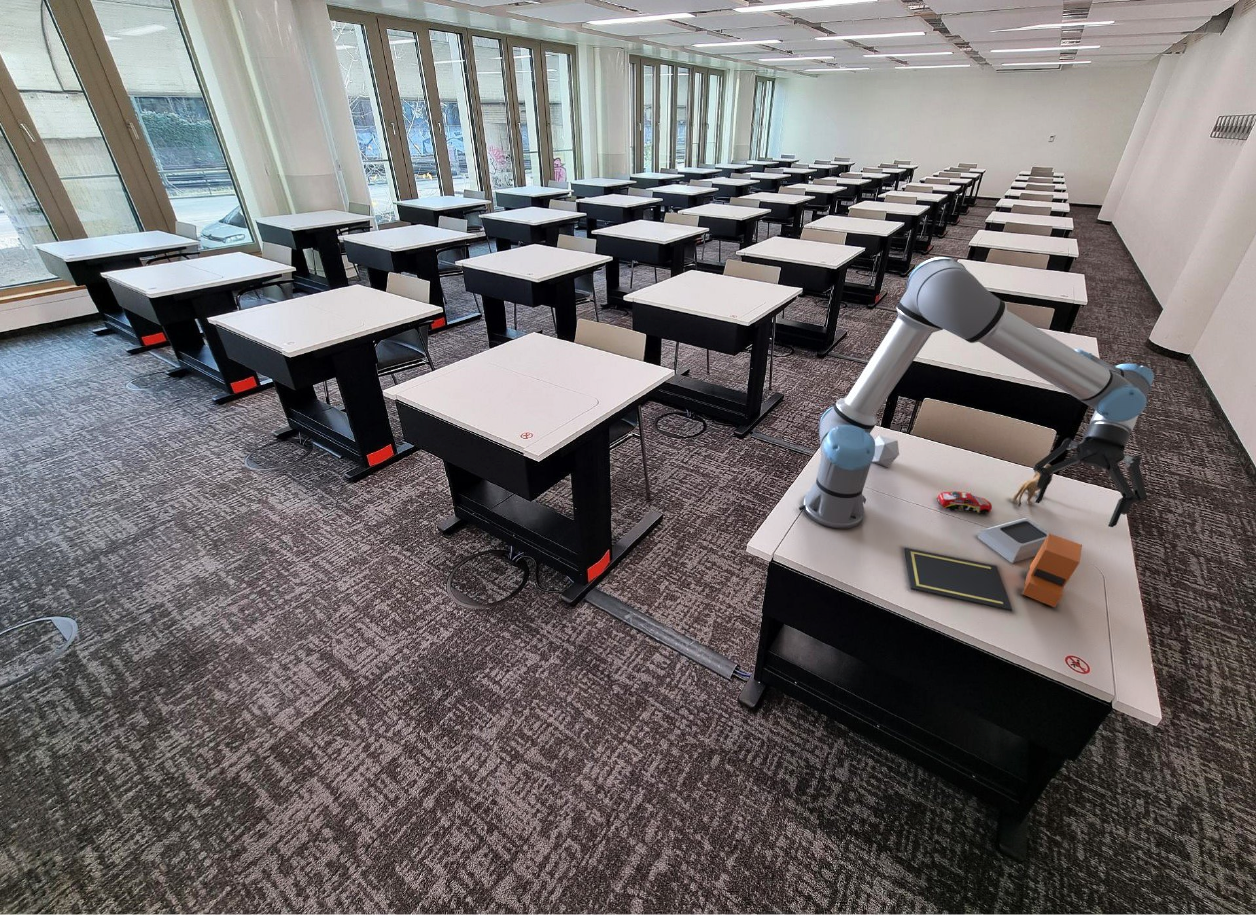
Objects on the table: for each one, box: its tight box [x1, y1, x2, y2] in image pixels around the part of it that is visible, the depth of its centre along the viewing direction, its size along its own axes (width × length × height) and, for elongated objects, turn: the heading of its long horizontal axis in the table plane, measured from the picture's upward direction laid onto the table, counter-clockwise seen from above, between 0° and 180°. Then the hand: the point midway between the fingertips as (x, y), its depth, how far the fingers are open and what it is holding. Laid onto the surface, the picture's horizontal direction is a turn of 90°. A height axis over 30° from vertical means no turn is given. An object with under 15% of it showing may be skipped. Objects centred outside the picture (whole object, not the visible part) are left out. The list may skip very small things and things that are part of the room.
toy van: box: [1021, 532, 1083, 608], centre depth 116 cm, size 10×6×12 cm, turn 141°
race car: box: [936, 490, 993, 516], centre depth 144 cm, size 13×5×4 cm, turn 76°
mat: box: [903, 547, 1013, 612], centre depth 122 cm, size 20×14×1 cm
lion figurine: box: [1011, 463, 1054, 508], centre depth 146 cm, size 15×5×9 cm, turn 131°
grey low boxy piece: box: [977, 517, 1052, 564], centre depth 132 cm, size 10×4×15 cm
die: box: [871, 434, 900, 468], centre depth 161 cm, size 8×9×10 cm
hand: (1073, 513), depth 119 cm, fingers open, 13 cm apart
